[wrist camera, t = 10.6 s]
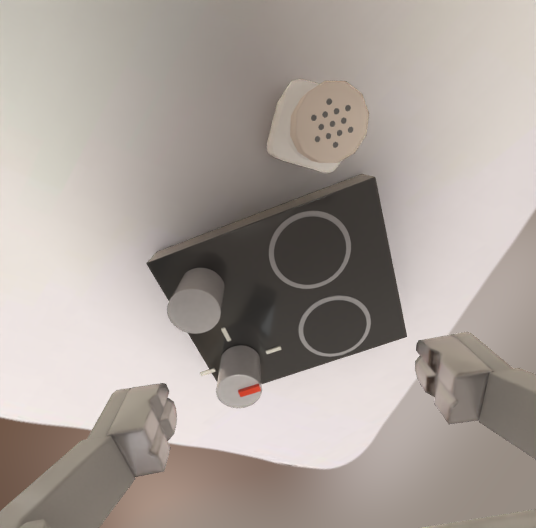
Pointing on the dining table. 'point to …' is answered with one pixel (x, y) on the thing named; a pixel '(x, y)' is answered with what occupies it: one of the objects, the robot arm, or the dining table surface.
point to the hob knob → (239, 377)
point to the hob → (281, 294)
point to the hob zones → (294, 274)
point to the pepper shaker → (318, 124)
